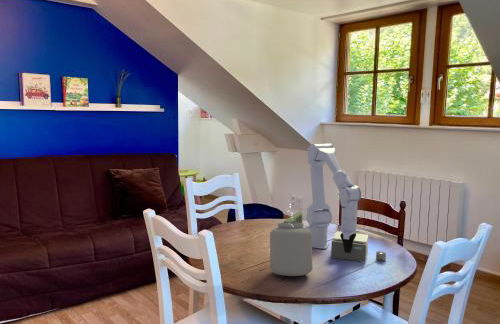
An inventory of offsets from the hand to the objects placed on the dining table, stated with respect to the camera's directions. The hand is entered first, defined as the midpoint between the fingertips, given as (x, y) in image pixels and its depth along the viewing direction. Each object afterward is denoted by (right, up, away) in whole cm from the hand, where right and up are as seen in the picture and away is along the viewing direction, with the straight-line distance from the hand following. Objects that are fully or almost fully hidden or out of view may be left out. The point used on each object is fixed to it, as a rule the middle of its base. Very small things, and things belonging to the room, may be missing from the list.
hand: (347, 252), depth 159 cm
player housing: (+3, -3, +9) cm, 10 cm away
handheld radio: (-18, +1, +42) cm, 46 cm away
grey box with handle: (+2, -3, +6) cm, 7 cm away
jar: (-23, -5, -11) cm, 26 cm away
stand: (+13, -4, +2) cm, 14 cm away
